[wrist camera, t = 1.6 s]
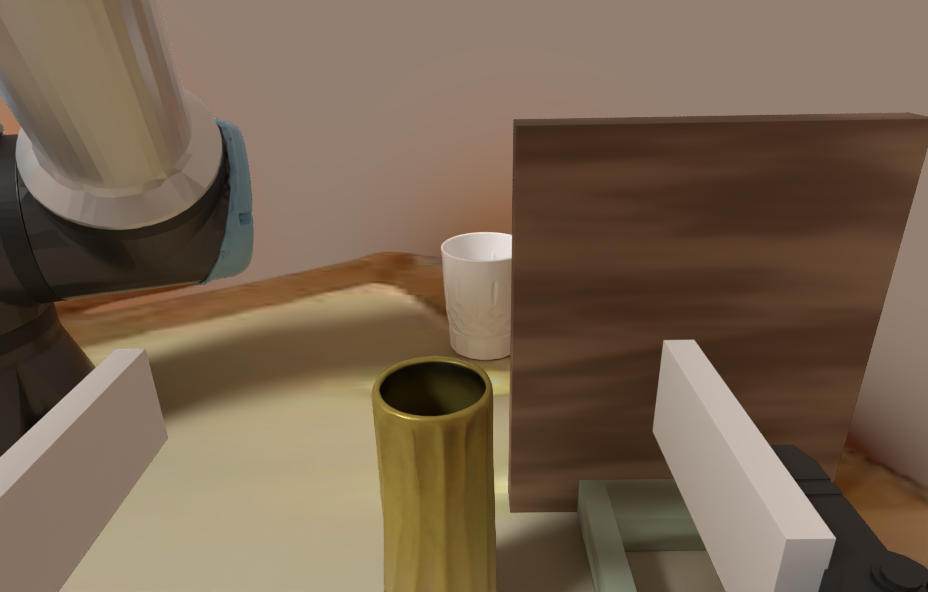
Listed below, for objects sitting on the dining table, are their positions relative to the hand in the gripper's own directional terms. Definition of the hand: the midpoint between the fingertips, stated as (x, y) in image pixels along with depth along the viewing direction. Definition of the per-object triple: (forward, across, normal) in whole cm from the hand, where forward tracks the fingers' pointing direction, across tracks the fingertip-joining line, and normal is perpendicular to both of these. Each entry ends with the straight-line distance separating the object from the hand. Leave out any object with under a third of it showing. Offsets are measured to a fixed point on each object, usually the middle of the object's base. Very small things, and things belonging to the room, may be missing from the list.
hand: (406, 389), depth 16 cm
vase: (+10, 0, -20) cm, 23 cm away
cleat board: (+12, +14, -20) cm, 27 cm away
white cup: (+40, +3, -20) cm, 45 cm away
